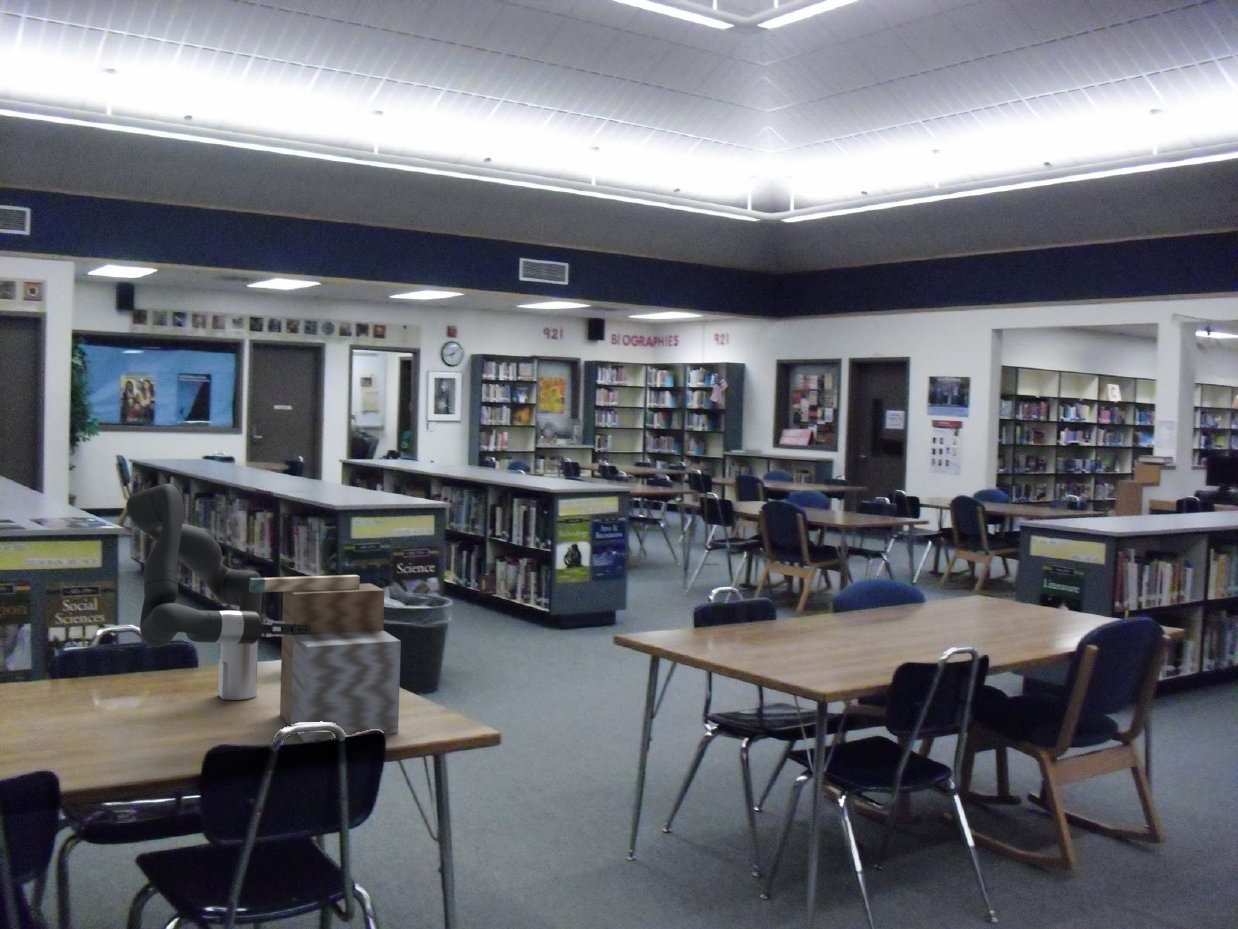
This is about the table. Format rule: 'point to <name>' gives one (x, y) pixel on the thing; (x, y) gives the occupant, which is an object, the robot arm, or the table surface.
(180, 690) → the table surface
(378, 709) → the pedestal
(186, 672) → the table surface
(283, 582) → the beech bar
